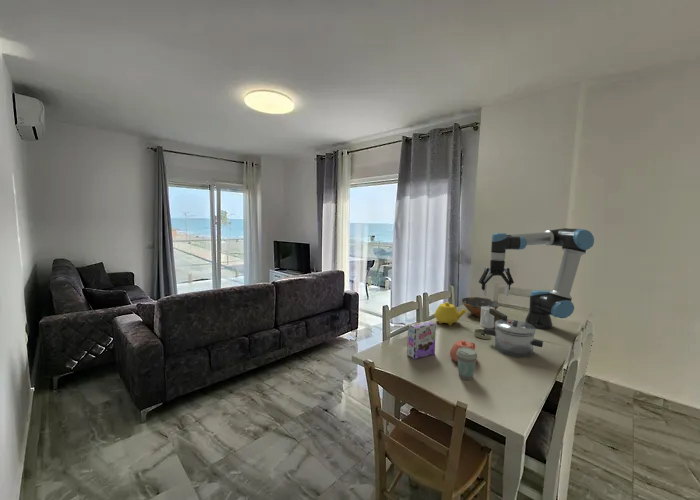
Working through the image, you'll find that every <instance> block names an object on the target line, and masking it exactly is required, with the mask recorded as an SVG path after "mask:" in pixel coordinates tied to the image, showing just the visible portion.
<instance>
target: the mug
mask: <svg viewBox="0 0 700 500" xmlns="http://www.w3.org/2000/svg"><path fill="white" fill-rule="evenodd" d="M489 309H493V307H488V306H483V307H481V317H480V323H479V327H482V328H483V329H485V328H488V329H493V328H495V316H493V315H492V314H490V313H489ZM494 309H495V308H494Z"/></svg>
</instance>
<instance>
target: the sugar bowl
mask: <svg viewBox="0 0 700 500" xmlns="http://www.w3.org/2000/svg"><path fill="white" fill-rule="evenodd" d="M462 347H466V348H471V349H473V350H475V351H476V344H475V342H468V341H467V340H465V339H461V340H457V341H456V342H454V344H453V345H452V346H451V348H450V351H449V356H450V358H451V359H452V360H453V361H454V362H456V363H458V359H457V354H456V353H457V351H458V349H459V348H462Z"/></svg>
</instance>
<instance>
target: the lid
mask: <svg viewBox="0 0 700 500" xmlns="http://www.w3.org/2000/svg"><path fill="white" fill-rule="evenodd" d="M489 313H490V314H492V315H493V316H494V318H497V319H498V320H495V321H494V327H495V326H496V327H497V328H499V329H500V330H503V331H506V332H509V333H514V334H533V333H535V334H536V329H537V328H535V327H534V326H533V325H531V324H528V323H526V322H525V321H522V320H518V319H508V315H506V314H504V313H502V312H501V311H498V310H497V309H496V310H495V309H494V308H493V309H489Z"/></svg>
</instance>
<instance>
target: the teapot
mask: <svg viewBox="0 0 700 500" xmlns="http://www.w3.org/2000/svg"><path fill="white" fill-rule="evenodd" d="M465 313H467V309H464V308H462V310H461V311H460V312H459V311H458V309H457V307H456V306H455V304H452V303H450V302H448V301H445V302H444V303H440V304H439V305H438V306H437V308H436V310H435V312H434V318H435V319H436V320H437V323H438V324H439V325H440V324H441V325H443V323H444V324H448V326H450V327H452V326H453V324H454V323H457V322H458V321H459V319H460V318H461V317H463V315H465Z"/></svg>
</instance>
